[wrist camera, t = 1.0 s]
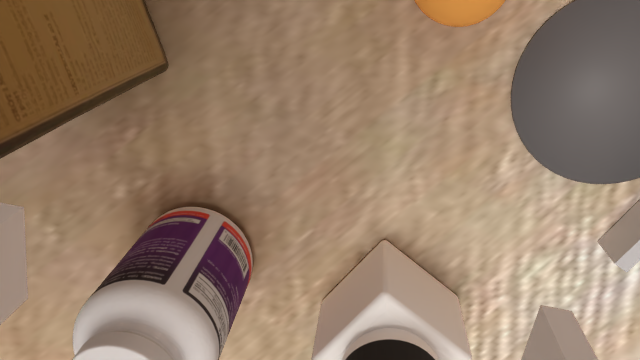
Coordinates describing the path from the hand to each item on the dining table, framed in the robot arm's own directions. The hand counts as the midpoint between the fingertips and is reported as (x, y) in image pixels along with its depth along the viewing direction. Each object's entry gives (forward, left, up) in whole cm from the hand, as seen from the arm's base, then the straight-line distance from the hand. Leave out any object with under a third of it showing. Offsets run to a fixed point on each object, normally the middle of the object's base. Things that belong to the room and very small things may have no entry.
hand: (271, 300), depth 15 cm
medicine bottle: (+11, -10, -24) cm, 28 cm away
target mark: (+13, +10, -23) cm, 29 cm away
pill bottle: (-2, -15, -24) cm, 28 cm away
